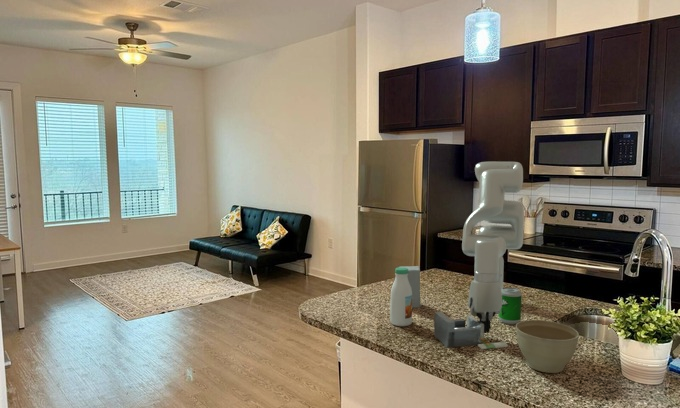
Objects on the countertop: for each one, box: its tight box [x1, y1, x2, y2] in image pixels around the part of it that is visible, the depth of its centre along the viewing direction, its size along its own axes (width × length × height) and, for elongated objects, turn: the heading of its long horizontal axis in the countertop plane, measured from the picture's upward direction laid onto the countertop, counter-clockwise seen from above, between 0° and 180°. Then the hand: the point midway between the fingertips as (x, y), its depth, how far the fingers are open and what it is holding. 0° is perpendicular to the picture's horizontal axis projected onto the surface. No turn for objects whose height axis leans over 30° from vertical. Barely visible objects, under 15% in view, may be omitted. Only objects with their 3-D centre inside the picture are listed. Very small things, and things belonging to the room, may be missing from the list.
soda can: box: [498, 286, 523, 325], centre depth 166 cm, size 8×8×12 cm
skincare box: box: [398, 265, 421, 309], centre depth 184 cm, size 8×7×16 cm
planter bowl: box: [515, 319, 580, 374], centre depth 129 cm, size 16×16×11 cm
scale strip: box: [477, 341, 509, 350], centre depth 144 cm, size 9×2×1 cm, turn 102°
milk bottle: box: [389, 266, 413, 327], centre depth 164 cm, size 8×8×20 cm
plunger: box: [455, 314, 491, 345], centre depth 147 cm, size 9×13×6 cm
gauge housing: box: [433, 311, 479, 348], centre depth 148 cm, size 10×10×8 cm
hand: (484, 331), depth 151 cm, fingers closed
